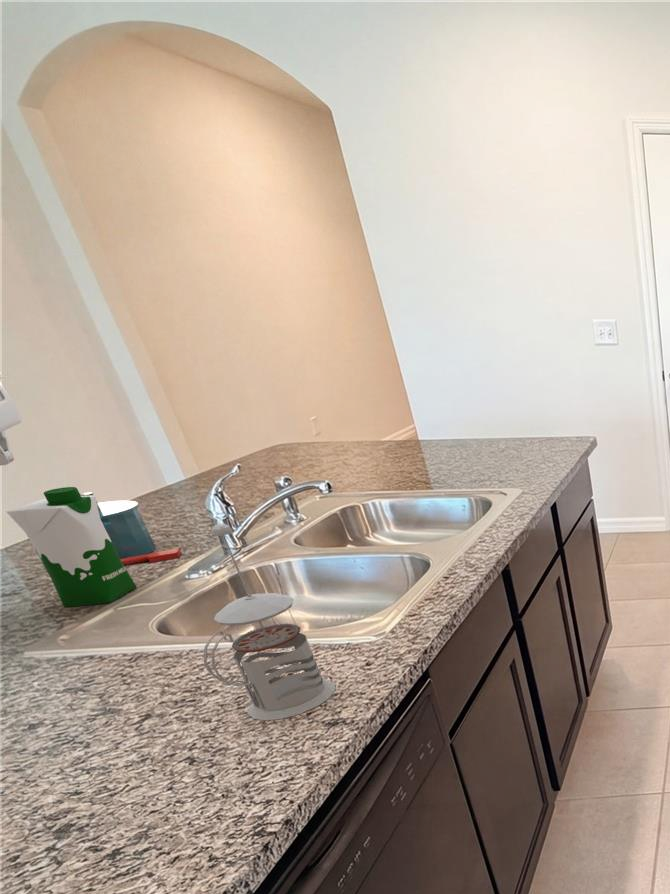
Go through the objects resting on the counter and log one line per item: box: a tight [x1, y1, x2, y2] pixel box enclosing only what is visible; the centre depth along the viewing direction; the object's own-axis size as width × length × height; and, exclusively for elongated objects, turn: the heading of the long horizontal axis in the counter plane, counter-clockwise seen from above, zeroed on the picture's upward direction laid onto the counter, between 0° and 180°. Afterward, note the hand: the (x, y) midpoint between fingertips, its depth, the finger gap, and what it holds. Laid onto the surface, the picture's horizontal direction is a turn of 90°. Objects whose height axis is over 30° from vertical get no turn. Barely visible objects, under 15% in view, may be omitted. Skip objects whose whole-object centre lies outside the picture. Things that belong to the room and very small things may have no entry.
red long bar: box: [121, 547, 182, 566], centre depth 133 cm, size 16×3×1 cm, turn 125°
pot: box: [101, 508, 156, 559], centre depth 136 cm, size 13×18×10 cm
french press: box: [202, 523, 336, 722], centre depth 82 cm, size 10×12×25 cm
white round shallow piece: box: [80, 492, 140, 519], centre depth 133 cm, size 14×14×5 cm
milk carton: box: [6, 486, 138, 608], centre depth 115 cm, size 9×9×20 cm
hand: (4, 463), depth 100 cm, fingers closed
